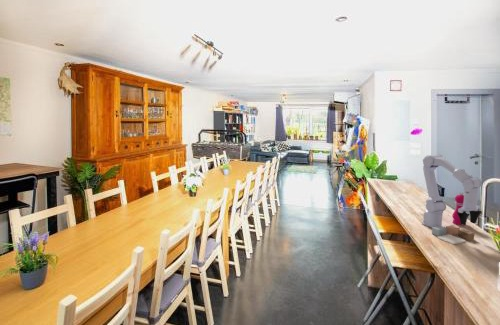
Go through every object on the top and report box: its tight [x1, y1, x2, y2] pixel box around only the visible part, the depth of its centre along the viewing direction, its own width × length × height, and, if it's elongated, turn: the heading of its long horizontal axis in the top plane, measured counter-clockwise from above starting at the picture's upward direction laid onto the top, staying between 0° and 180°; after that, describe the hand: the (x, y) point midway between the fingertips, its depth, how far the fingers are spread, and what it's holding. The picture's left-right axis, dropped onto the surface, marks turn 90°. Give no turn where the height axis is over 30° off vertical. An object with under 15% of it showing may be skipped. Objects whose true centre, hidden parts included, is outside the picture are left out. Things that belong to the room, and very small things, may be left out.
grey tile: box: [437, 234, 467, 245], centre depth 156 cm, size 9×9×1 cm
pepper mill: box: [451, 192, 464, 226], centre depth 178 cm, size 7×7×20 cm
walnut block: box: [457, 228, 475, 242], centre depth 158 cm, size 6×4×4 cm, turn 18°
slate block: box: [431, 226, 447, 237], centre depth 164 cm, size 6×4×4 cm, turn 108°
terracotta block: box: [445, 224, 461, 236], centre depth 165 cm, size 6×4×4 cm, turn 109°
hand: (468, 223), depth 156 cm, fingers open, 7 cm apart
